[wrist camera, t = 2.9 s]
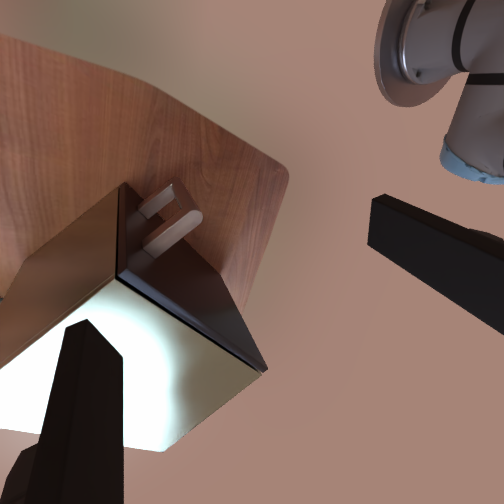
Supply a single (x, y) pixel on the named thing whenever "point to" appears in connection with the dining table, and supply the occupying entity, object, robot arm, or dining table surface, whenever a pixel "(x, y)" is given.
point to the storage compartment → (108, 338)
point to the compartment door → (178, 267)
